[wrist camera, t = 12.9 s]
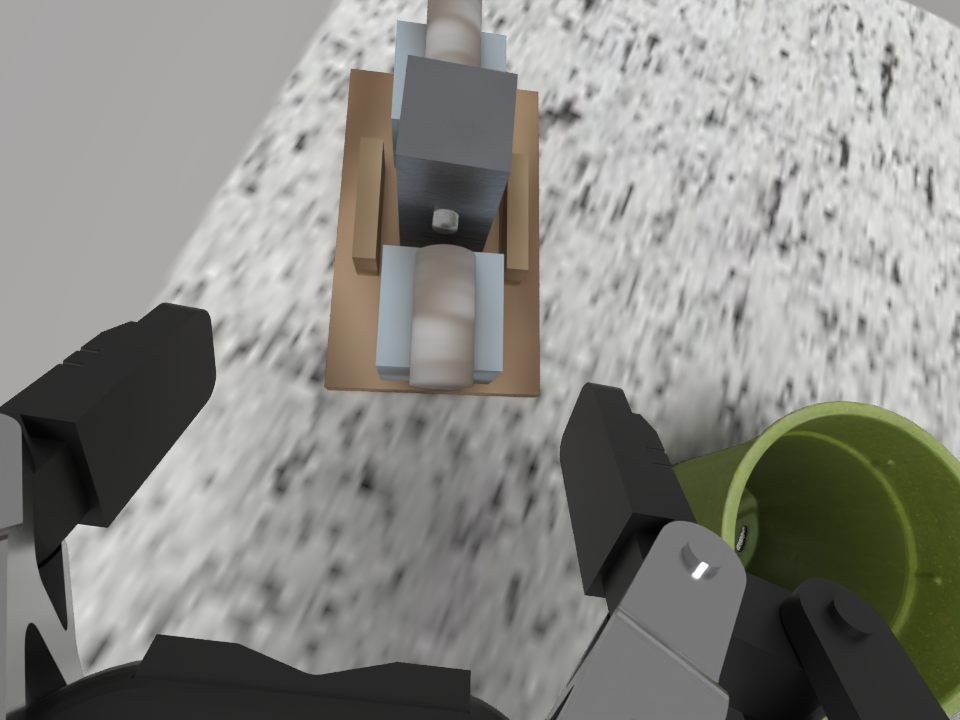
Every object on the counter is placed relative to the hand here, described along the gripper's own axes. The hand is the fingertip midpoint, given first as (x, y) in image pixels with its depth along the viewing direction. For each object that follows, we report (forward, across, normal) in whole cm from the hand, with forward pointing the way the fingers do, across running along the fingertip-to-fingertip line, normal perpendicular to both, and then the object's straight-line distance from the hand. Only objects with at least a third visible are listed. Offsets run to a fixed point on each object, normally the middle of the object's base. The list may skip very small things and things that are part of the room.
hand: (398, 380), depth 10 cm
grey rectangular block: (+20, 0, +3) cm, 20 cm away
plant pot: (+11, -18, +14) cm, 25 cm away
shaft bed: (+21, 0, +4) cm, 21 cm away
